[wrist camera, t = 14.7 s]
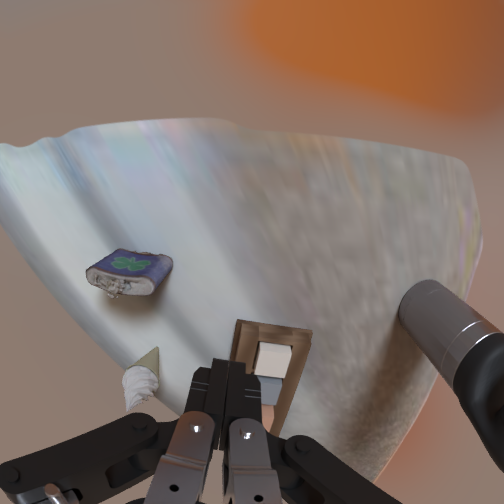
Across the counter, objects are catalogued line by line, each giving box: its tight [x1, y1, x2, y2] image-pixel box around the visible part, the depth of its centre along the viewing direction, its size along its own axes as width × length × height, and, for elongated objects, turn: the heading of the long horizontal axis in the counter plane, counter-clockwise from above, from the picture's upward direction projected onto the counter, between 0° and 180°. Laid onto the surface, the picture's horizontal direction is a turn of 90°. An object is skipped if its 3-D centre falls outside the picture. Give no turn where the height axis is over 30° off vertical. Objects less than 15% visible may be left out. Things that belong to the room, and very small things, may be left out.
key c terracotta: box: [262, 404, 274, 432], centre depth 42 cm, size 4×4×3 cm
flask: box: [86, 248, 173, 298], centre depth 36 cm, size 9×3×11 cm, turn 82°
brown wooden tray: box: [227, 319, 313, 437], centre depth 45 cm, size 11×23×4 cm, turn 170°
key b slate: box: [252, 372, 282, 405], centre depth 42 cm, size 4×4×3 cm
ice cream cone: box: [122, 347, 160, 412], centre depth 38 cm, size 5×5×15 cm
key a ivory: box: [254, 341, 292, 378], centre depth 41 cm, size 4×4×3 cm
